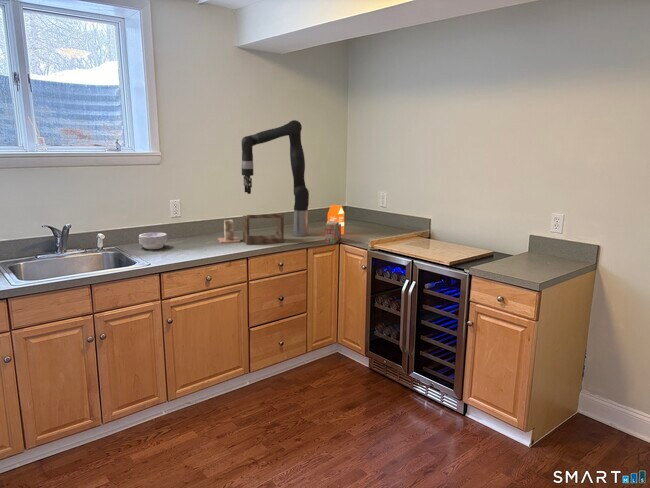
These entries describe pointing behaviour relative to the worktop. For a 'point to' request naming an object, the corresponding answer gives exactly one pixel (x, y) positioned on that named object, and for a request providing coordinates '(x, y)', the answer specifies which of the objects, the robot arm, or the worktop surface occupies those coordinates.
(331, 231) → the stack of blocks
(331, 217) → the orange juice
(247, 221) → the walnut bay
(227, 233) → the maple block
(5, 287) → the worktop surface
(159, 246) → the paper bowls
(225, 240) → the terracotta tile
